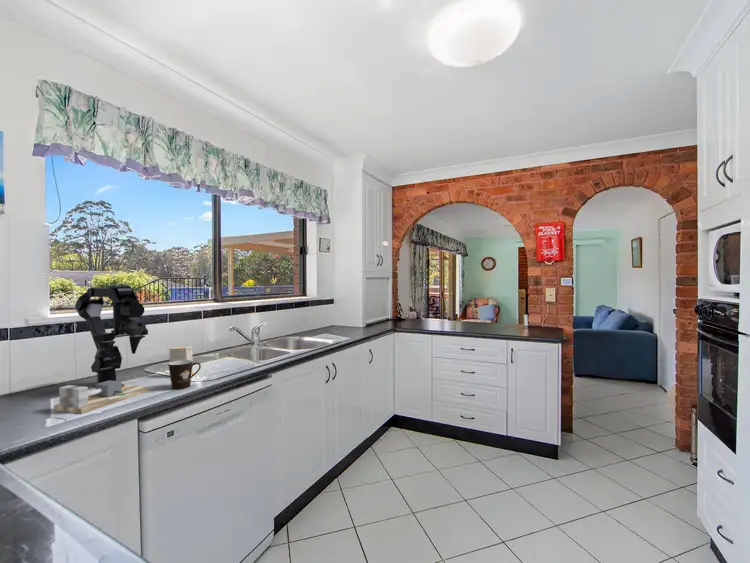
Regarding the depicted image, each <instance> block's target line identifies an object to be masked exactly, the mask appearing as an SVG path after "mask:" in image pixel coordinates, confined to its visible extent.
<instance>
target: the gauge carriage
mask: <svg viewBox="0 0 750 563" xmlns="http://www.w3.org/2000/svg"><path fill="white" fill-rule="evenodd" d="M121 384H122V381H119V380H116V381H110V380H109V381H105V382H102V383H98V384H97V383H95V385H96V387H95V389H94V390H90V391H89V390H88V397H89V396H92V395H95V394H96V395H99V396H111V395H114V394H118V393H122V391H121Z"/></svg>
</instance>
